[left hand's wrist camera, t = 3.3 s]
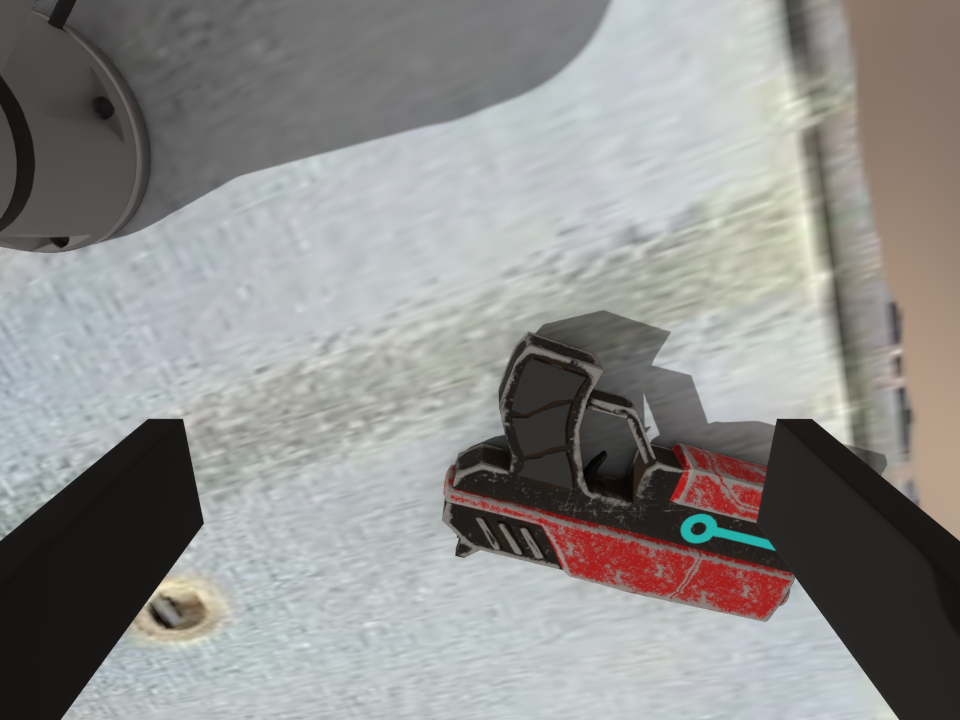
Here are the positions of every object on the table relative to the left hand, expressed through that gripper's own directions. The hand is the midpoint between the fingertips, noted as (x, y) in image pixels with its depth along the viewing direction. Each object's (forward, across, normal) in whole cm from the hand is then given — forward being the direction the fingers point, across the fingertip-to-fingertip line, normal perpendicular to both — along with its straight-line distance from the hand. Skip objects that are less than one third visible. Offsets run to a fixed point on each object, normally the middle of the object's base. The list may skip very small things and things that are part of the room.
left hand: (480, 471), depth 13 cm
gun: (+31, +13, -20) cm, 39 cm away
